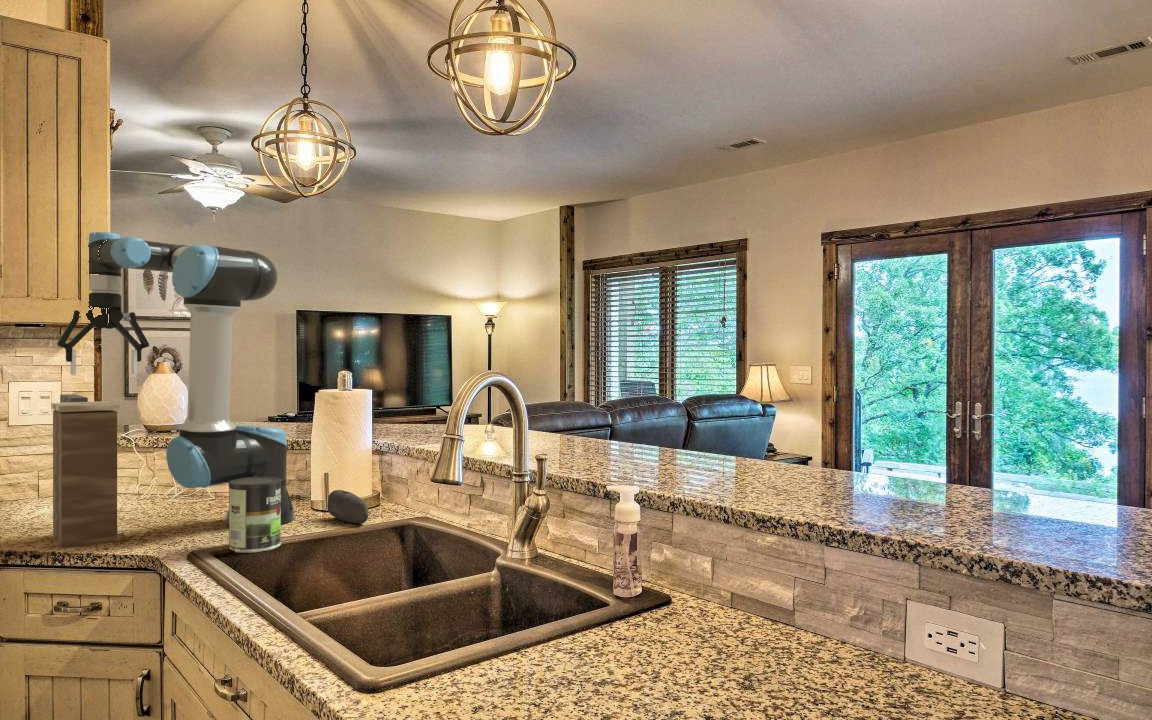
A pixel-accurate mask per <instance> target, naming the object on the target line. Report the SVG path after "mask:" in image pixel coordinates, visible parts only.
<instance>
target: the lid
mask: <svg viewBox="0 0 1152 720" xmlns="http://www.w3.org/2000/svg"><path fill="white" fill-rule="evenodd" d="M59 398H60V399H59V402H51V404H50V407H51V410H56V411H59V412H79V411H103V410H114V411H119V410H120V404H119V403H116V402H112V401H108V400H102V401H101V400H99V401H89V398H88V397H87V396H83V395H79V394H75V393H72V394H70V393H69V394H68V393H67V394H60V395H59Z"/></svg>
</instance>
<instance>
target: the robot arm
mask: <svg viewBox="0 0 1152 720" xmlns="http://www.w3.org/2000/svg"><path fill="white" fill-rule="evenodd" d="M91 232H92V233H91ZM91 232H90V235H89V234H88V235H89V243H88V244H89V245H88V247H89V261H88V262H89V290H92V293H90V292H89V293H90V294H89V302H88V303H89V306H88V307H89V308H90V306H92V307H93V309H94V307H99V308H101V313H102V315H98V316H97V317H95V318H94V317H93V313H92V310H93V309H92V310H89V311H88V313H86V316H87V318H88V319H87V318H86V319H87V321H88V320H90V322H91V323H90V324H88V323H87V324H88V325H87V324H86V325H85V326H84V327H83V328H82V329H81V330H80V331H79V332H78V333H77V334H76V335H75V336H74V337H72V338H71V340H70V341H68V339H69V337H70V336H71V334H72V332H73V330H75V328H76V325H77V324H78V322H79V318H81V316H79V314H80V312H79V310H77V309H76V310H75V309H74V310H73V311H74V314H73V319H72V318H71V319H72V321H71V320H70V321H71V322H70V321H69V322H70V323H68V324H67V326H66V327H65V329H64V330H63V333H62V334H61V336H60V338H59V339H58V340H57V342H56V346H57V347H60V348H62V349H64V350H65V361H66V363H69V362H70V375H71V376H76V375H77V349H73V348H74V347H75V346H76V345H77V344H78V343H79V342H80V341H81V340H82V339H83V338H84V337H85V336H86V335H87V334H88V333H89V332H90V331H91V330H93V328H95V329H97V330H99V329H107V330H111V329H115V330H116V331H117V332H119V333H120V335H122V336H123V338H125V340H126V341H127V342H128V343H130V345H131V346H132V347H133V348H134V349H131V353H130V354H131V359H130V360H131V364H130V365H131V368H130V369H131V370H130V371H131V375H138V362H142V350H143V349H145V348H148V347H149V346H150V343H149V341H148V339H147V337H146V336H145V334H144V332H143V330H142V329H141V326H140V325H139V323H138V322H137V318H136V317H137V316H136V313H135V312H133V311H132V312H125V313H123V310H122V295H121V294H120V293H121V292H122V269H133V270H141V271H142V270H143V271H152V272H153V271H154V272H166V273H171V283H172V286H173V290H174V291H175V293H176V294H177V295H178V296H180V297H182V298H183V303H182V304H183V306H184V308H186V310H187V311H189V313H190V327H189V353H188V354H189V355H188V356H189V358H188V382H187V385H188V388H187V410H186V411H187V414H186V415H187V416H186V417H187V418H186V420H185V422H183V423H182V424H181V425H180V426H179V430H178V431H179V432H178V436H175V437H174V438H173V439H171V440H170V441H169V443H168V445H167V447H166V452H165V453H166V455H165V456H166V462H167V468H168V470H169V473H170V475H171V476H172V478H173V480H174V481H175V482H176V483H177V484H178V485H180V486H181V487H183V488H184V489H185V488H186V489H197V488H202V489H204V488H208V487H213V486H217V485H224V484H228V482H229V481H231V480H235V479H240V478H248V477H277V478H280V479H281V525H284V524H286V523H290V522H291V521H293V520H294V518H295V509H294V507H293V503H292V500H291V496H290V494H289V492H288V488H287V447H288V442H287V433H286V431H285V429H283V428H280V427H274V426H273V427H272V426H262V425H261V426H260V425H244V424H243V425H242V424H237V425H235V424H234V423H233V422H232V421H231V420H230V408H231V406H230V405H231V384H232V383H231V382H232V381H231V379H232V351H233V328H234V327H233V325H234V324H233V323H234V322H233V321H234V315H235V313H237V312H238V311H239V310H240V309H241V303H242V301H245V302H246V301H256V300H257V301H258V300H262V299H263V298H266V297H268V295H270V294H271V293H272V292H273V291H274V289H275V287H276V286H277V282H278V272H277V271H278V270H277V268H276V266H275V264H274V263H273V262H272V260H270V259H269V257H267V256H266V255H265V254H262V253H258V252H256V251H251V250H242V249H236V248H229V247H224V246H223V247H222V246H215V245H210V244H209V245H208V244H207V245H203V244H194V245H186V244H174V243H166V242H165V243H164V242H158V241H151V240H143V239H142V238H139V237H133V236H124V237H121V235H120V234H118V233H115V232H109V231H107V232H106V231H91ZM109 233H110V234H109ZM106 240H107V241H106ZM104 241H105V242H104ZM103 242H104V243H103ZM100 245H101V246H100ZM99 247H100V248H99ZM98 250H99V252H98ZM98 254H99V255H98ZM99 258H100V259H99ZM90 274H99V275H90ZM92 307H91V308H92ZM91 308H90V309H91ZM102 308H103V309H102ZM104 308H105V309H104ZM106 308H107V314H106ZM108 308H109V309H108ZM108 314H109V323H108ZM123 319H125V320H126V321H128V322H129V324H130V326H131V328H132V330H133V331H134V333H135V335H136V337H137V338H138V339H135V338H134V336H132V334H131V333H130V332H129V331H128V330H127V329H126V328H125V327H124V325H122V323H121V321H122V320H123ZM107 324H108V325H107ZM137 340H138V341H139V342H138V341H137ZM67 341H68V342H67ZM225 520H226V521H225V522H226V525H227V526H229V508H228V509H227V512H226V519H225Z"/></svg>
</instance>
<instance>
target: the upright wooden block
mask: <svg viewBox="0 0 1152 720" xmlns="http://www.w3.org/2000/svg"><path fill="white" fill-rule="evenodd" d="M52 503H53V504H52V538H53V539H54V540H55V542H56V543H57V544H58V545H59V546H60V548H61V549H67V548H72V547H79V546H86V545H87V546H88V545H93V544H94V545H95V544H101V543H110V542H115V541H118V410H103V411H79V412H59V411H56V410H54V409H52Z"/></svg>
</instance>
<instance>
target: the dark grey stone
mask: <svg viewBox="0 0 1152 720" xmlns="http://www.w3.org/2000/svg"><path fill="white" fill-rule="evenodd" d="M327 497H328V498H327V504H326V505H327V506H326V507H327V511H328V513H329V515H331V516H332V517H334V518H335V519H337V520H339V521H342V522H345V521H346V522H345V523H351V524H354V523H362V524H364V523H366V522H367V521H368V519H369V516H370V514H369V512H370V511H369V508H368V506H367V503H366V502H365V500H363V498H361V497H359V496H358V495H356V494H355V493H352V492H351V491H347V490H342V489H336V490H333V491H331V492H330V493H329V494H328V496H327Z"/></svg>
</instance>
